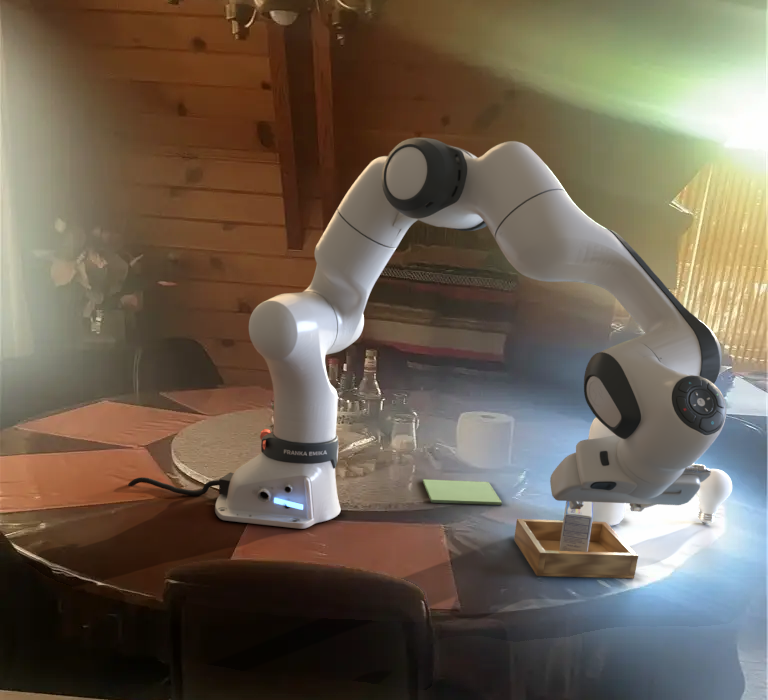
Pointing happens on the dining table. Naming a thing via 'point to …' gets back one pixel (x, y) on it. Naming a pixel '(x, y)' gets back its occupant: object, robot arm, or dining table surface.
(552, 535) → the tray
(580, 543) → the medicine box
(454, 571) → the dining table surface
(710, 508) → the light bulb
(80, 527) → the dining table surface
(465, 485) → the mat
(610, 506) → the alcohol
